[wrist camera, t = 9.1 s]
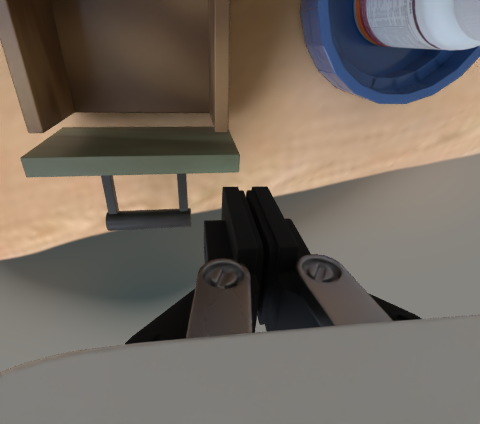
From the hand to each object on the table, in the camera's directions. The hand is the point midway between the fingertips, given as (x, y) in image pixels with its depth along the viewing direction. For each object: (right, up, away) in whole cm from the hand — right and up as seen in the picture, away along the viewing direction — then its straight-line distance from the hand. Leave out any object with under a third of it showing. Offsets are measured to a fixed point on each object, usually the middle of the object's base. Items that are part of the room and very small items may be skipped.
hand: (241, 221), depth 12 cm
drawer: (-7, +10, +10) cm, 16 cm away
